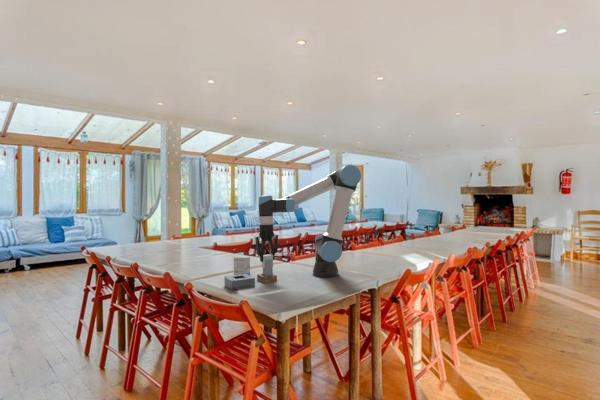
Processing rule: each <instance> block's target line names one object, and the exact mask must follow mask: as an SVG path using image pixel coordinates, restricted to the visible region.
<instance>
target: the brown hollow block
mask: <svg viewBox="0 0 600 400" xmlns="http://www.w3.org/2000/svg"><path fill="white" fill-rule="evenodd" d="M256 280H257V281H259V282H261V284H266V283H272V282H277V281H278V275H277V274H274V273H273V275H271V276H263V273H257V274H256Z"/></svg>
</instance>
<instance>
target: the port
mask: <svg viewBox="0 0 600 400" xmlns="http://www.w3.org/2000/svg"><path fill="white" fill-rule="evenodd" d="M255 280H256V279H255V277H254V276H252V275H251V274H250V275H248V274H239V275H234V274H233V275H232V274H231V275H224V287H225V288H227V289H229V290H230V291H231V292H236V291H238V290H239V289H243V288H249V287H250V288H251V287H255V286H256V283H255V282H256V281H255Z"/></svg>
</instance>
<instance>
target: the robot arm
mask: <svg viewBox="0 0 600 400" xmlns="http://www.w3.org/2000/svg"><path fill="white" fill-rule="evenodd" d="M361 179H362V173H361V171H360V169H359V168H358V167H357V166H355V165H354V164H345V165H343V166H341V167H339V168H337V169H336V170H335V171H332V173H331V172H330V173H329V174H327V176H326V177H325V178H322V179H320V180H318V181H316V182H314V183H312V184H310V185H307V186H304V187H303V188H301V189H299V190H297V191H294V192H292V193H290V194H288V195H285V196H284V197H281V198H273V196H272V195H271V194H270V195H259V197H258V219H259V220H258V221H259V222H258V223H259V226H258V227H259V228H258V229H259V233H258V234H257V235H256V236H254V241H255V250H256V251H255V252H256V253H255V254H256V255H258V256H259V261H260V262H261V268H262V269H263V268H265V256H264V255H265V247H266V243H268V248H269V250H270V254H269V255H272V266H273V267H274V261H275V255H276V254H277V253H278V252H279V251H278V246H279V245H278V241H279V240H278V239H279V235H278V234H275V232H274V224H273V223H274V213H288V214H289V213H293V212H295V209H296V206H298V205H301V204H302V203H305V202H308V201H309V200H312V199H314V198H317V197H319V196H320V195H322V194H325V193H327V192H329V191H331V190H333V191H335V190H336V192H335V195H334V199H333V204H332V207H331V212H330V215H329V219H328V223H327V227H326V231H325V232H324V233H322V235H316V236H315V238H314V239H315V240H314V243H315V262H314V264H313V270H312V276H314V277H319V278H332V277H336V276H338V275H339V270H338V265H337V263H336V261H338V260H340V258H342V257H341V256H342V255H343V249H342V248H343V247H342V246H343V241H344V238H343V237H342V235H343V230H344V227H345V222H346V218H347V216H348V212H349V207H350V204H351V199H352V196H353V195H352V194H354V193H355V192H356V190H357V186H358V184H359V183H360V181H361ZM260 239H261V242H260Z"/></svg>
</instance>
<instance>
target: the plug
mask: <svg viewBox="0 0 600 400" xmlns="http://www.w3.org/2000/svg"><path fill="white" fill-rule="evenodd" d="M264 256H265V268H262V274H263V276H271V275H273V274H274V270H273V269H274V265H273V266H272V255H270V254H264Z"/></svg>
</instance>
